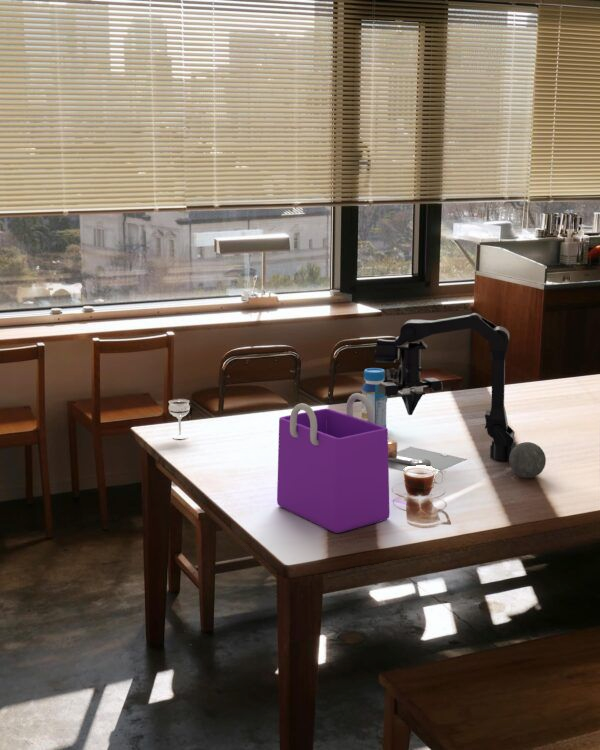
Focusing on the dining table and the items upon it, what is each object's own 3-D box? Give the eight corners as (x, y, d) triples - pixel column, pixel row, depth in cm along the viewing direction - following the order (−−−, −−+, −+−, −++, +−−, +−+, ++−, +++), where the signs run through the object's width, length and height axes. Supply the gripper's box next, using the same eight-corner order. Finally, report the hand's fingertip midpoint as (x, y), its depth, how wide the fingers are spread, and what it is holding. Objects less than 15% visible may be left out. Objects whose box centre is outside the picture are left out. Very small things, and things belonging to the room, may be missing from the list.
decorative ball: (518, 484, 281) (520, 449, 279) (502, 473, 290) (503, 439, 288) (551, 481, 283) (553, 446, 281) (534, 470, 293) (535, 436, 291)
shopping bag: (402, 514, 258) (404, 399, 252) (347, 539, 243) (347, 416, 236) (319, 490, 277) (318, 382, 270) (262, 511, 261) (260, 397, 255)
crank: (434, 464, 295) (434, 447, 294) (424, 469, 290) (424, 452, 289) (389, 455, 303) (389, 439, 302) (378, 460, 299) (379, 444, 297)
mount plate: (466, 462, 300) (466, 458, 300) (426, 480, 285) (426, 476, 284) (410, 449, 313) (410, 446, 313) (369, 466, 297) (369, 462, 297)
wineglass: (192, 435, 330) (191, 399, 327) (188, 441, 323) (187, 404, 321) (172, 434, 331) (170, 398, 328) (167, 440, 324) (166, 403, 321)
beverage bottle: (387, 433, 331) (388, 372, 326) (361, 433, 331) (361, 372, 327) (386, 426, 339) (386, 367, 335) (360, 426, 339) (360, 367, 335)
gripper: (426, 355, 311) (425, 405, 314) (370, 360, 304) (369, 411, 308) (443, 362, 301) (442, 414, 304) (386, 368, 294) (385, 420, 298)
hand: (409, 414), depth 304 cm, fingers closed
